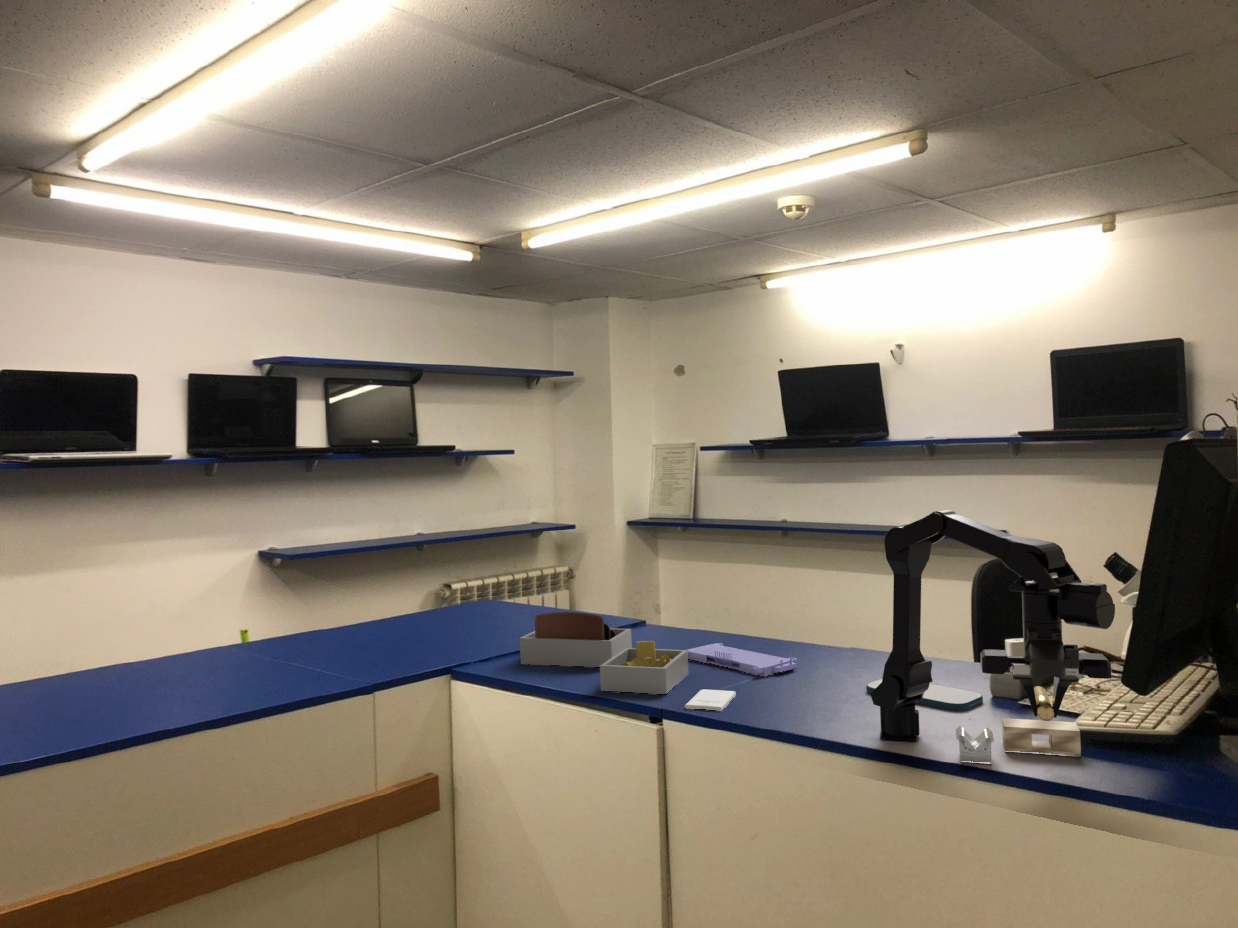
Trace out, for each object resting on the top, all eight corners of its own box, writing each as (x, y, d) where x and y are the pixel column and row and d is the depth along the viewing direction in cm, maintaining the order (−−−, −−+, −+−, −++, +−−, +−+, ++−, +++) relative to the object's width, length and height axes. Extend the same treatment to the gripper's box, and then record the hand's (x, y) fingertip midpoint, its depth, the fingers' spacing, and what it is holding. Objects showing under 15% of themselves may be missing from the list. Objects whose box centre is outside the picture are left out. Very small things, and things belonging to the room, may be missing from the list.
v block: (994, 765, 151) (993, 736, 151) (957, 762, 153) (956, 734, 153) (992, 755, 156) (992, 727, 155) (956, 753, 158) (955, 725, 157)
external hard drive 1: (736, 698, 200) (722, 714, 188) (700, 696, 203) (684, 711, 191) (735, 691, 200) (721, 706, 188) (700, 689, 203) (684, 704, 191)
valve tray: (600, 691, 208) (599, 665, 208) (627, 671, 226) (626, 648, 226) (666, 695, 202) (665, 668, 202) (688, 674, 220) (687, 650, 220)
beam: (1004, 752, 157) (1003, 726, 157) (1002, 743, 161) (1001, 718, 161) (1080, 757, 153) (1080, 731, 153) (1076, 748, 157) (1075, 722, 157)
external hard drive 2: (860, 694, 198) (860, 685, 198) (889, 684, 206) (889, 675, 206) (961, 715, 180) (961, 705, 180) (988, 703, 188) (988, 694, 188)
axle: (1036, 719, 143) (1039, 704, 143) (1030, 698, 155) (1032, 684, 154) (1052, 723, 143) (1055, 708, 142) (1045, 701, 154) (1047, 688, 154)
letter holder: (604, 668, 232) (602, 613, 231) (535, 664, 238) (533, 612, 238) (617, 659, 241) (615, 607, 241) (550, 656, 248) (548, 605, 247)
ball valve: (620, 686, 215) (641, 689, 207) (618, 643, 217) (638, 644, 208) (665, 681, 221) (687, 684, 213) (662, 639, 223) (684, 640, 214)
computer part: (763, 681, 212) (804, 670, 222) (763, 664, 212) (804, 653, 222) (678, 661, 236) (718, 652, 245) (678, 645, 236) (718, 636, 245)
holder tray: (520, 664, 238) (519, 638, 238) (545, 650, 254) (544, 626, 253) (612, 668, 230) (611, 641, 230) (632, 654, 245) (631, 629, 245)
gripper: (982, 628, 140) (985, 728, 140) (1116, 632, 134) (1119, 736, 134) (979, 615, 150) (982, 707, 151) (1103, 618, 144) (1106, 714, 144)
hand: (1045, 716), depth 145 cm, fingers closed on axle, 2 cm apart
